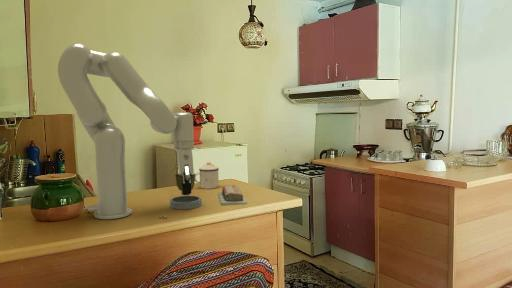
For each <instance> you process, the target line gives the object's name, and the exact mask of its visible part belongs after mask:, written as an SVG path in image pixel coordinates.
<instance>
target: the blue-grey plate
mask: <svg viewBox="0 0 512 288" xmlns="http://www.w3.org/2000/svg"><path fill="white" fill-rule="evenodd" d="M202 205H203V203H202V197H201V196H199V195H192V194H189V195H179V196H173V197H172V198H169V208H170V209H173V210H181V211H182V210H185V211H186V210H193V209H197V208H200V207H202Z"/></svg>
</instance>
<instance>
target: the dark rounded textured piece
mask: <svg viewBox="0 0 512 288" xmlns="http://www.w3.org/2000/svg"><path fill="white" fill-rule="evenodd" d="M195 174H196V173H195V172H194V175H191V174H190V180H191V191H192V190H193V189H194V187H195V183H196V182H195ZM184 175H185V174H184ZM184 178H185V177H184ZM175 181H176V186H177V189H178V190H179V191H181V192H180V193H181V196H186V195H190V194H183V189H182V183H183V177H182V176H181V175H180V174H179V172H178V173H176V174H175Z"/></svg>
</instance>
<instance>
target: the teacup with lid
mask: <svg viewBox="0 0 512 288" xmlns="http://www.w3.org/2000/svg"><path fill="white" fill-rule="evenodd" d="M198 170H199V171H198V172H196V173H195V183H196V184H199V187H200V189H202V190H203V189H206V190H210V189H211V190H212V189H217V188H218V187H220V185H219V183H220V181H219V180H220V179H219V171H220V170H219V167H218V166H216V165H215V164H212V162H211V161H208V162H206V164H204V165H202V166H201V167H199V169H198ZM198 175H199V181H198V180H197V178H196V177H197V176H198Z"/></svg>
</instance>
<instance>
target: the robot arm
mask: <svg viewBox="0 0 512 288" xmlns="http://www.w3.org/2000/svg"><path fill="white" fill-rule="evenodd" d="M57 75H58V76H57V77H58V79H59V83H60V85H61V87H62V89H63V91H64V92H65V94H66V95H67V98H68V100H69V101H70V103H71V105H72V106H73V108H74V109H75V111H76V115H77V117H78V119H79V121H80V123H81V124H82V126H83V128H84V129H85V130H86V131H87V134H88V135H89V137H90V139H91V140H92V142H93V143H94V146H95V166H96V167H95V168H96V170H95V171H96V183H97V185H96V186H97V203H94V204H86V205H84V211H85V212H89V213H90V212H94V213H93V214H94V216H93V217H94V218H96V219H99V220H116V219H121V218H126V217H128V216H130V215H132V213H133V209H132V208H130V207H128V198H127V197H128V195H127V194H128V193H127V176H126V175H127V174H126V140H125V136H124V133H123V131H122V130H121V129H120V128H118V127H116V125H115V123H114V122H113V119H112V118H111V116H110V115H109V112H108V110H107V107H106V105H105V102H103V101H102V99H101V98H100V96H99V94H98V93H97V92H96V90H95V88H94V87H93V84H92V83H91V80H90V79H89V77H88V75H91V76H92V75H93V76H99V77H104V78H105V77H106V78H110V80H111V81H112V82H113V83H114V85H115V86H116V87H117V88H118V90H120V92H121V93H122V94H123V95H124V97H125V98H126V99H127V100H128V101H129V103H130V102H131V104H133V105H134V106H136V107H137V108H138V109H140V110H141V111H142V112H143V113H144V115H146V117H147V118H148V119H149V120H150V127H151V128H152V130H153V131H154V132H157V133H160V134H164V135H169V134H171V133H173V136H172V137H173V139H172V140H173V150H175V151H176V153H177V154H176V155H177V169H178V173H179V174H180V175H181V176H182V177H183V183H182V189H183V194H189V195H192V190H191V180H190V174H191V175H194V173H195V172H194V171H195V170H194V157H193V151H192V150H195V138H194V115H193V114H192V112H189V111H188V112H186V111H182V112H181V111H180V112H179V111H178V112H172V111H171V109H170V108H169V107H168V106H167V104H166V103H165V102H164V101H163V100H162V99H161V98H160V97H159V96H158V94H157V93H155V92H154V90H153V89H152V88H151V87H150V86H149V85H148V83H146V81H145V80H144V79H143V77H141V75H140V74H139V73H138V71H137V70H136V69H135V67H134V66H133V65H132V64H131V63H130V61H129V60H128V59H127V58H126V56H125V55H123V53H120V52H118V51H110V52H108V53H105V52H100V51H95V50H91V49H90V48H89V47H88V46H87V45H85V44H83V43H78V42H74V43H72V44H70V45H68V46H67V47H66V48H65V49H64V50H63V52H62V53H61V55H60V57H59V60H58V63H57ZM184 174H185V175H184ZM184 177H185V178H184Z"/></svg>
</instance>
